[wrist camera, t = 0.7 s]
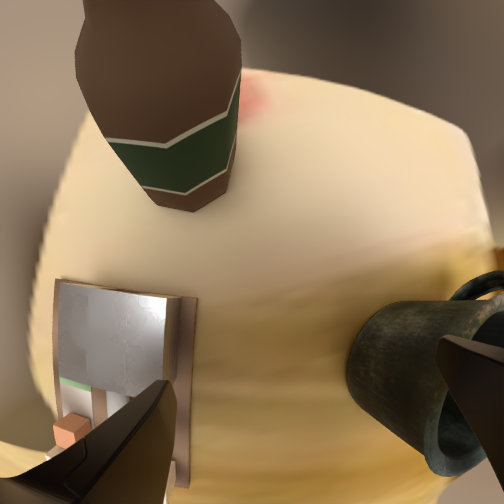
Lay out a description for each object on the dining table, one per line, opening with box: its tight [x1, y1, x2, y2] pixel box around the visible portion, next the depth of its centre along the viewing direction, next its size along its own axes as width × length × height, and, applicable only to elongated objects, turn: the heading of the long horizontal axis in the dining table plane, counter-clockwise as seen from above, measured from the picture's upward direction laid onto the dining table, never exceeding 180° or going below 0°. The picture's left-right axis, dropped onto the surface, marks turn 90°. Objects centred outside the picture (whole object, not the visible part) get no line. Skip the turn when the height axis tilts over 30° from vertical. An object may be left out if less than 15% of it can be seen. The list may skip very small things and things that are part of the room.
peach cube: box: [53, 413, 91, 449], centre depth 15 cm, size 2×2×3 cm
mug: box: [347, 270, 504, 477], centre depth 15 cm, size 11×15×12 cm
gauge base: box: [52, 279, 197, 488], centre depth 18 cm, size 17×12×1 cm
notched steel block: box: [58, 282, 182, 397], centre depth 16 cm, size 6×7×5 cm
